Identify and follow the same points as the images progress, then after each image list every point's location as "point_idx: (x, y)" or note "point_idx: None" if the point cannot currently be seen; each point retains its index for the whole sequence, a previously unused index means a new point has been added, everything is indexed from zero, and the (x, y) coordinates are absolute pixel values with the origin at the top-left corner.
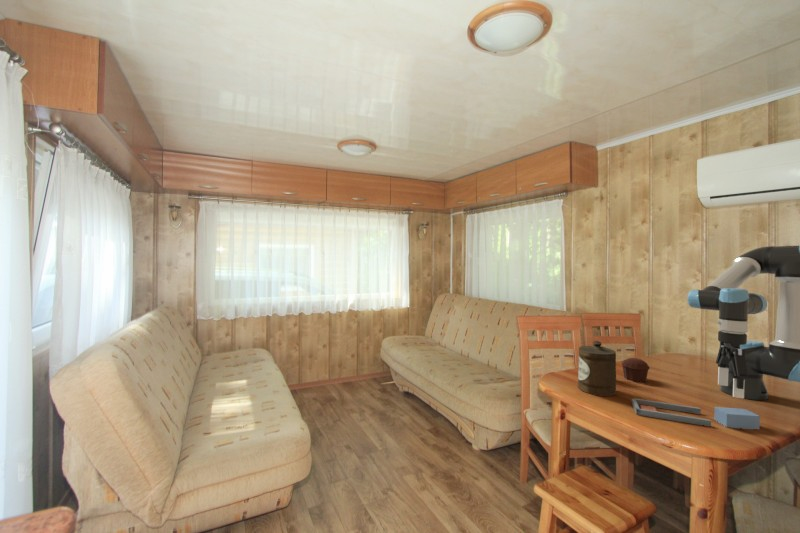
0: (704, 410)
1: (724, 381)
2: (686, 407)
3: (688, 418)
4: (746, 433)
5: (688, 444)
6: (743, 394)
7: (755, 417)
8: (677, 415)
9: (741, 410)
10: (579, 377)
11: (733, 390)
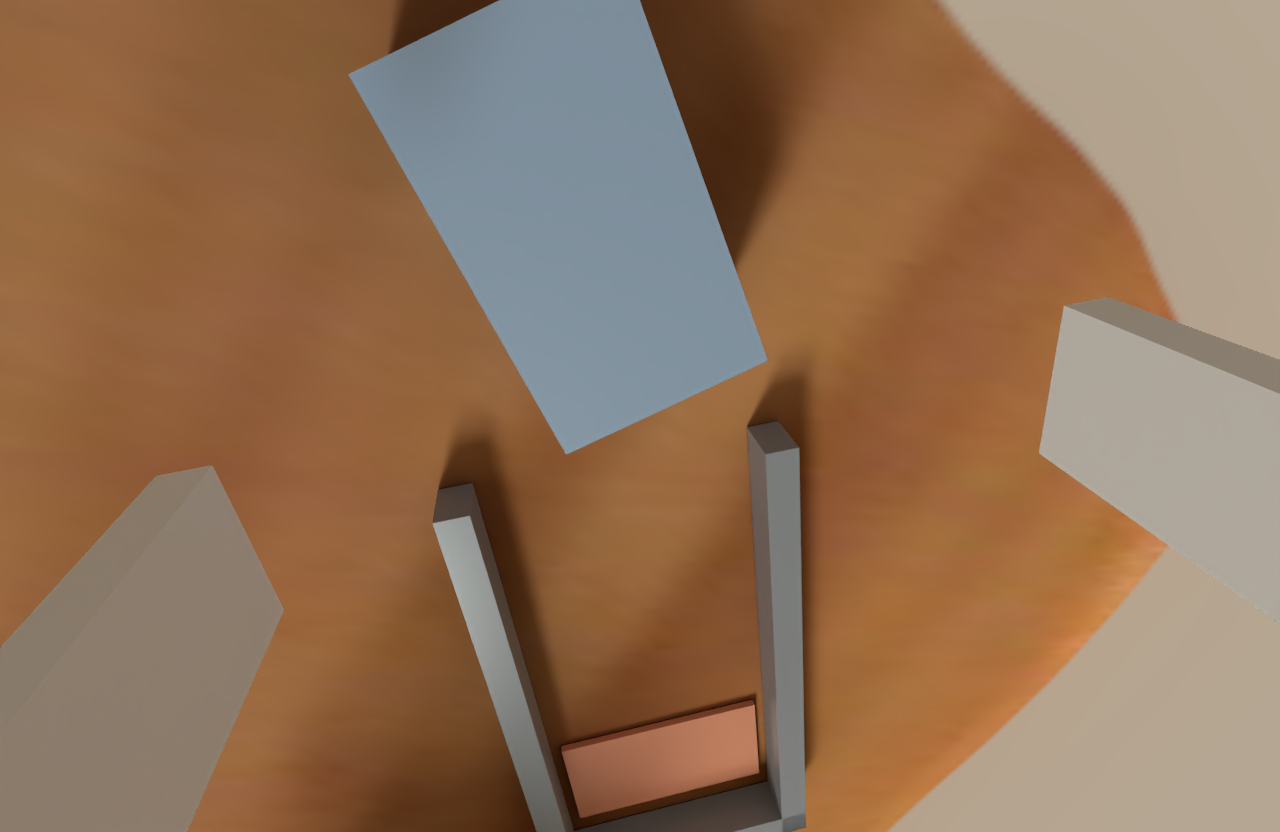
0: (294, 448)
1: (200, 597)
2: (500, 609)
3: (799, 582)
4: (790, 151)
5: (1161, 543)
6: (1178, 335)
7: (641, 13)
8: (796, 648)
9: (493, 165)
10: None
11: (1171, 519)
